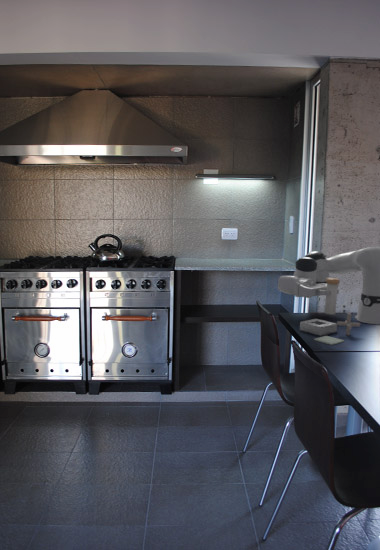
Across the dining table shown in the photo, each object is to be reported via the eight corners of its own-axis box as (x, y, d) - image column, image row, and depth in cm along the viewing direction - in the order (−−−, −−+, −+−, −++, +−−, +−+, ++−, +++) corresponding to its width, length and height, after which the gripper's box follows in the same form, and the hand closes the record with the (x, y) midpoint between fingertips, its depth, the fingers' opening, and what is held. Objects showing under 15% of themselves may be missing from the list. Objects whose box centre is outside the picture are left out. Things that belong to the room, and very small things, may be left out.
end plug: (328, 310, 198) (331, 277, 195) (338, 313, 194) (342, 279, 191) (320, 312, 195) (323, 278, 192) (331, 315, 191) (334, 281, 188)
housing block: (315, 326, 220) (315, 318, 220) (336, 331, 211) (337, 323, 210) (299, 330, 213) (300, 321, 212) (320, 335, 204) (321, 327, 203)
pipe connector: (361, 338, 200) (362, 316, 199) (337, 336, 202) (339, 315, 201) (357, 332, 210) (358, 311, 209) (335, 331, 212) (336, 310, 211)
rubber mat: (326, 336, 202) (326, 335, 202) (343, 341, 195) (344, 340, 195) (313, 340, 196) (314, 338, 196) (331, 345, 189) (331, 343, 189)
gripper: (320, 292, 210) (347, 297, 199) (292, 297, 197) (318, 302, 186) (321, 279, 209) (348, 283, 198) (293, 282, 196) (319, 287, 185)
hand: (333, 292), depth 192 cm, fingers closed on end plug, 4 cm apart
